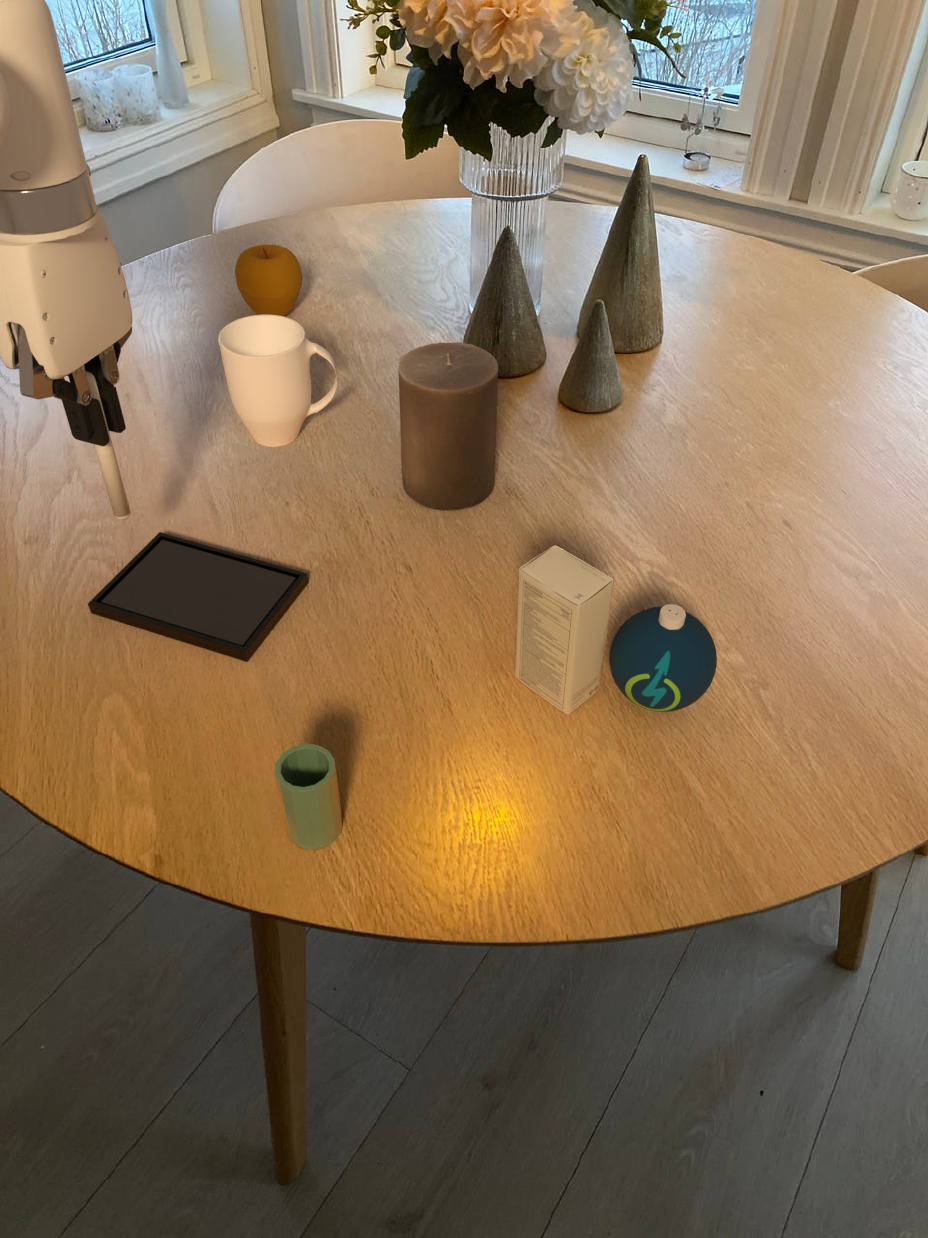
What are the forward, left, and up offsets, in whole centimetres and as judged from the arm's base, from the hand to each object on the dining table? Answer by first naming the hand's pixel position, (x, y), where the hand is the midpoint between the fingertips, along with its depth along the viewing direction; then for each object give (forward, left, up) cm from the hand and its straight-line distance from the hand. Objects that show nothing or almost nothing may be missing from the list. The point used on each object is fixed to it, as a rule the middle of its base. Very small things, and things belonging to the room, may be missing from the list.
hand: (99, 433), depth 77 cm
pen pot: (+27, -18, -16) cm, 36 cm away
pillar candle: (+20, +25, -16) cm, 36 cm away
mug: (0, +27, -16) cm, 32 cm away
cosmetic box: (+39, +2, -16) cm, 42 cm away
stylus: (0, 0, -9) cm, 9 cm away
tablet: (+6, 0, -16) cm, 17 cm away
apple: (-16, +52, -16) cm, 57 cm away
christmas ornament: (+47, +4, -16) cm, 50 cm away
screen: (+6, 0, -15) cm, 16 cm away
